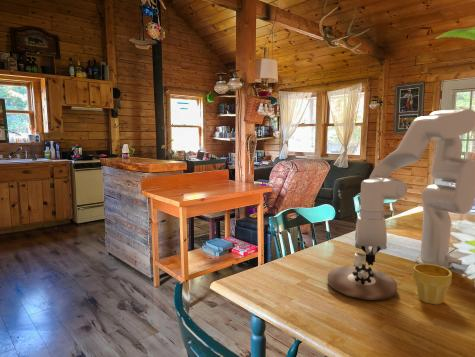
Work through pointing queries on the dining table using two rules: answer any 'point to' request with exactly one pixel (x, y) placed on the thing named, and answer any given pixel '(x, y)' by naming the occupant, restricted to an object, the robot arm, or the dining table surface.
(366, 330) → the dining table surface
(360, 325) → the dining table surface
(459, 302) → the dining table surface
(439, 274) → the plant pot
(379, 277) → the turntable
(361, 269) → the valve
